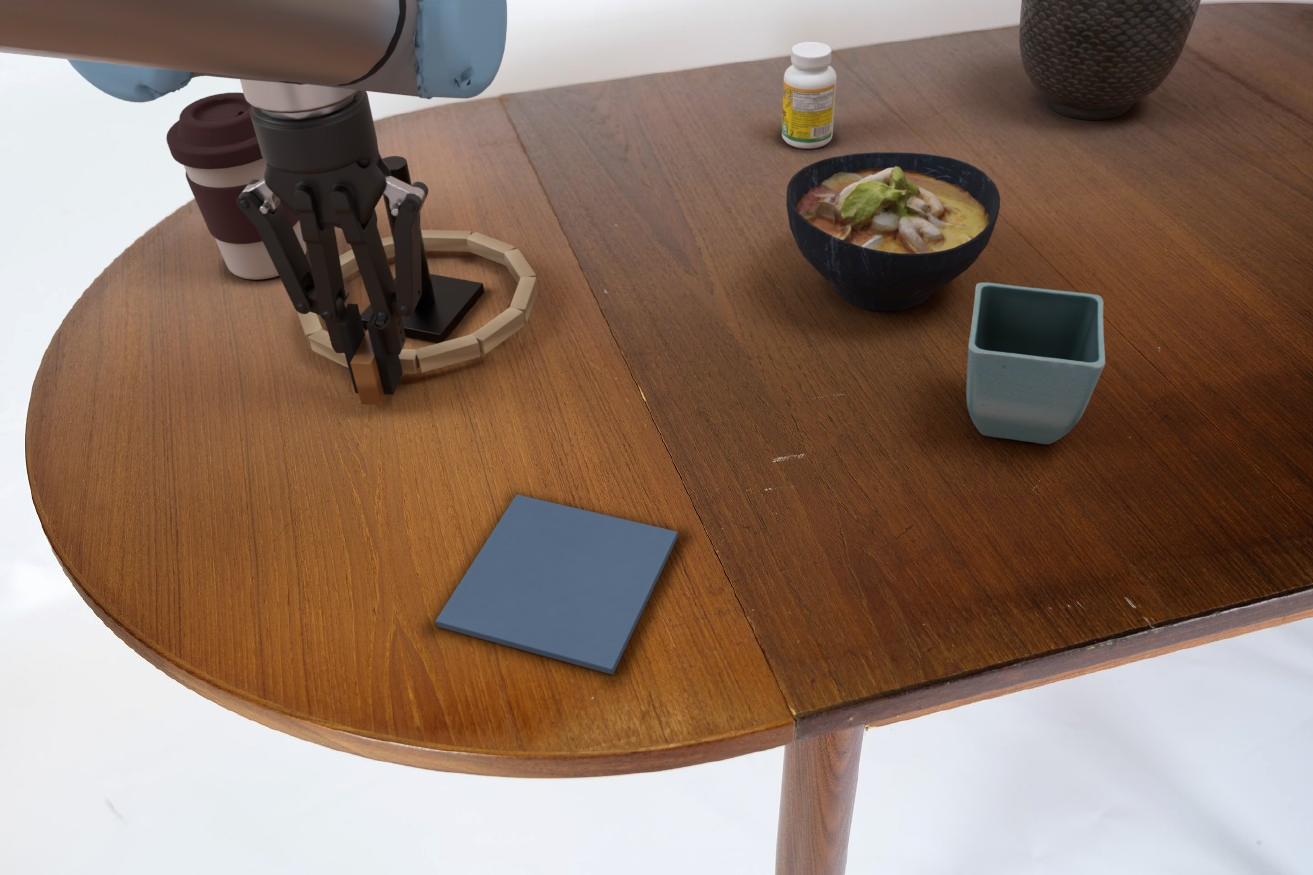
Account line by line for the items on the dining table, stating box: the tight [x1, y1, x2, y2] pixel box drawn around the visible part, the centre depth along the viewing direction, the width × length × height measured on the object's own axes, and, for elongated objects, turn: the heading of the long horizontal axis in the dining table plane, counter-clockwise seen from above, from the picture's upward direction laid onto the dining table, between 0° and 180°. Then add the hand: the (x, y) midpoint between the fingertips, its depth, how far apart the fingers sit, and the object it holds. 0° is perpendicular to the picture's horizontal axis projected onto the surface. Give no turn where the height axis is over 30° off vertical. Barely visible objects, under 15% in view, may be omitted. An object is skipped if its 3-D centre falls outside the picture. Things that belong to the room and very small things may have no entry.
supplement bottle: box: [781, 41, 837, 150], centre depth 116 cm, size 5×5×10 cm
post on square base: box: [360, 155, 485, 344], centre depth 93 cm, size 8×8×14 cm
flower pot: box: [965, 282, 1106, 445], centre depth 81 cm, size 9×9×9 cm
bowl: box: [785, 151, 1001, 312], centre depth 95 cm, size 17×17×10 cm
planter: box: [1018, 0, 1202, 121], centre depth 118 cm, size 17×17×16 cm
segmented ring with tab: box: [296, 229, 539, 406], centre depth 94 cm, size 24×20×4 cm
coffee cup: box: [165, 92, 307, 280], centre depth 100 cm, size 10×10×15 cm
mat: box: [435, 494, 679, 676], centre depth 74 cm, size 12×12×1 cm
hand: (379, 383), depth 88 cm, fingers closed on segmented ring with tab, 2 cm apart
